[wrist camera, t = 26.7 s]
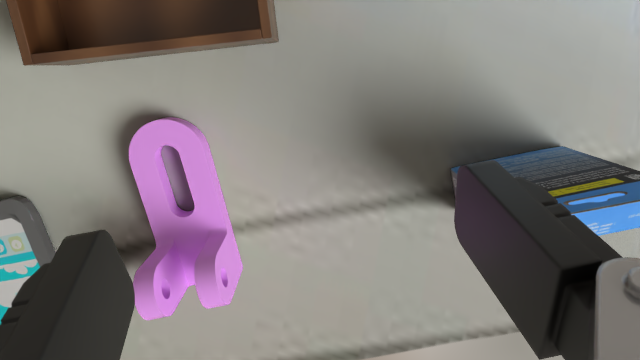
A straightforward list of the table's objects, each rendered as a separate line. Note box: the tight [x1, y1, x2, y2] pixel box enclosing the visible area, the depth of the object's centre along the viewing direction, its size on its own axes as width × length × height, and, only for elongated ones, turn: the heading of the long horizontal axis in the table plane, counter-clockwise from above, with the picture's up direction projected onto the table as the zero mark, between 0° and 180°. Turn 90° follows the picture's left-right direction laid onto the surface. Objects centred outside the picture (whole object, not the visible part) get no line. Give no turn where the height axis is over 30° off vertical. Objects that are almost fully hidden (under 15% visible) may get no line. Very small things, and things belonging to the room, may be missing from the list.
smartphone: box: [0, 196, 56, 325], centre depth 35 cm, size 9×1×15 cm
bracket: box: [129, 117, 243, 320], centre depth 30 cm, size 13×6×7 cm, turn 12°
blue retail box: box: [451, 146, 640, 236], centre depth 28 cm, size 9×4×12 cm, turn 102°
